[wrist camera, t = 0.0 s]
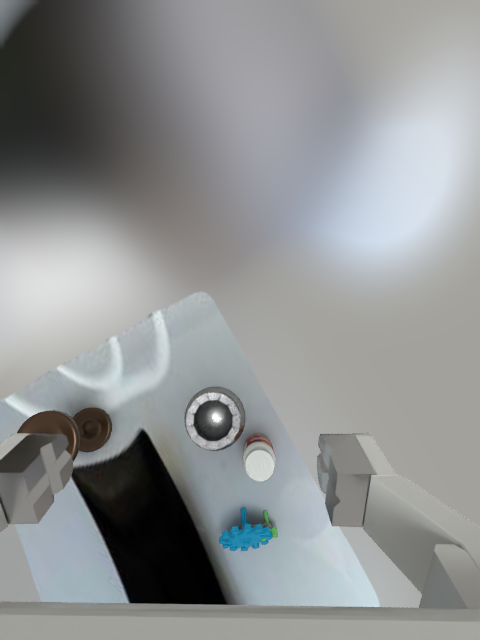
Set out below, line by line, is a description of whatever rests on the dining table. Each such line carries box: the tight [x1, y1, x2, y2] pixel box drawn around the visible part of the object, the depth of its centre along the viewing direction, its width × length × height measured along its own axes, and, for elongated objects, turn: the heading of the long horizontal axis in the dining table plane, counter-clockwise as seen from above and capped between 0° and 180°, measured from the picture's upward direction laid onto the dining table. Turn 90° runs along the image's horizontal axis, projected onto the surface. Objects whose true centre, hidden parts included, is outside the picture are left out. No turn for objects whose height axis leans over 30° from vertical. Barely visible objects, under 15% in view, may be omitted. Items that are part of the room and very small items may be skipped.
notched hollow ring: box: [185, 387, 245, 451], centre depth 59 cm, size 13×13×4 cm
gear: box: [219, 508, 278, 551], centre depth 55 cm, size 11×6×10 cm
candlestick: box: [17, 408, 112, 461], centre depth 44 cm, size 11×11×35 cm
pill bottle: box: [243, 434, 276, 481], centre depth 54 cm, size 6×6×11 cm
